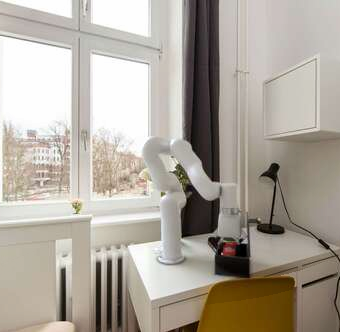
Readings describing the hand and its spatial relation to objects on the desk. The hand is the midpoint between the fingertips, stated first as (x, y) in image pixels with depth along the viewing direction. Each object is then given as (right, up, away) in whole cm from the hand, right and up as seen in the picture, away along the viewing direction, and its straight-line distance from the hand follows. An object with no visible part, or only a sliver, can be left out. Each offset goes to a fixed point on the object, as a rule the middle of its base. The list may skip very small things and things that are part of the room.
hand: (229, 251), depth 96 cm
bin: (+1, -6, 0) cm, 7 cm away
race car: (0, -1, 0) cm, 1 cm away
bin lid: (+7, +9, -2) cm, 12 cm away
